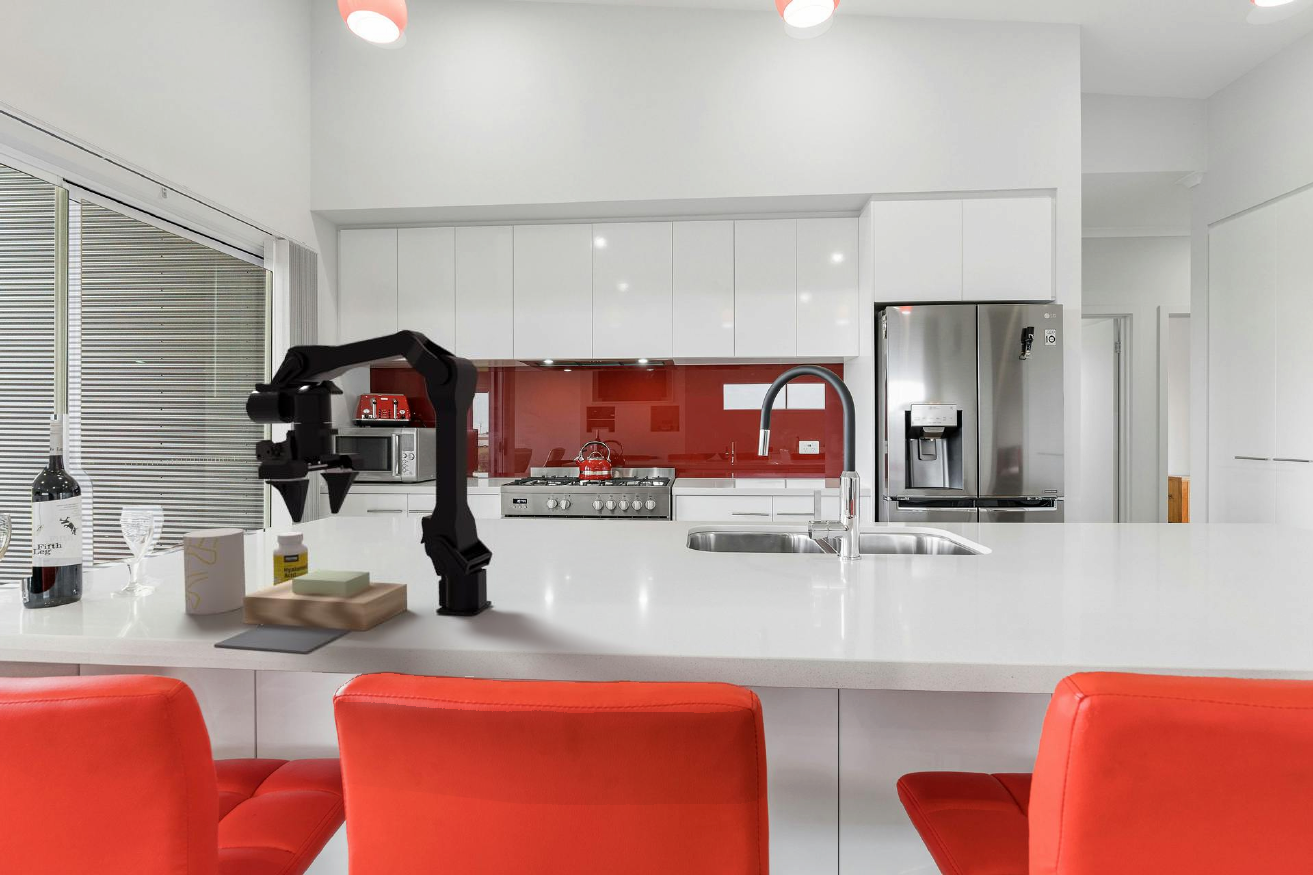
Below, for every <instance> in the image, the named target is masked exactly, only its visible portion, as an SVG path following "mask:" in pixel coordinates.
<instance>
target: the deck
mask: <svg viewBox="0 0 1313 875" xmlns="http://www.w3.org/2000/svg"><path fill="white" fill-rule="evenodd" d="M242 607H243V608H242V612H243V623H244V624H252V625H253V624H254V625H255V624H256V625H263V624H278V625H292V626H307V627H322V628H337V629H350V631H354V630H355V632H357V631H358V632H367V631H368V630H370V629H372V628H374V627H376V626H378V625H379V623H380V624H381V622H382V623H383V621H384V622H385V621H388V620H389V619H392V618H393V617H395V616H397V615H399V614H401V613H402V612H405V611H407V610H408V583H394V582H393V583H392V582H376V581H375V582H373V581H372V582H371V581H370V585H368V586H366V587H363V588H361V589H359V590H356V591H354V592H351V593H349V594H347V595H337V594H320V593H302V592H292V580H289V581H286V582H283V583H280V584H277V585H275V586H274V585H271V586H269V587H266V588H263V589H259V590H257V591H254V592H251V593H248V594H245V596H243V606H242ZM404 610H405V611H404ZM377 624H378V625H377Z"/></svg>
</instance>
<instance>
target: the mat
mask: <svg viewBox="0 0 1313 875" xmlns="http://www.w3.org/2000/svg"><path fill="white" fill-rule="evenodd" d="M350 632H351V630H350V629H337V628H322V627H307V626H292V625H278V624H259V626H255V627H254V628H251V629H248V630H246V631H243V632H241V633H238V634H236V635H234V636H231V637H229V638H226V639H223V640H221V641H219V642H217V643H214V644H213V647H215V648H216V647H217V648H230V649H241V650H242V649H243V650H253V651H254V650H255V651H257V650H258V651H268V652H283V653H292V654H293V653H294V654H295V653H296V654H309V653H311V652H312V651H314V650H317V649H318V648H320V647H322V646H324V645H327V644H328V643H330V642H332V641H335V640H336V639H339V638H340V637H342V636H344V635H346V634H348V633H350Z"/></svg>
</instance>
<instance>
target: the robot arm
mask: <svg viewBox="0 0 1313 875" xmlns="http://www.w3.org/2000/svg"><path fill="white" fill-rule="evenodd" d="M401 359H404V360H406V362H407V363H408V364H409V365H410V367H411V368H412V369H413V370H415V371H416V372H417V373H418V374H419V375H421V376H422V377H423V381H424V385H425V386H424V387H425V392H426V396H427V399H428V400H429V403H430V405H431V407H432V409H433V411H434V414H435V505H434V508H433V511H432V513H431V514H430V515H426V516H422V517H421V523H420V524H421V529H422V534H421V535H422V536H421V539H420V544H421V545H422V544H423V547H424V552H425V555H426V556H427V557H429V558H430V560H431V563H432V565H433V568H434V570H435V574H436V576H437V577H440V579H439V580H438V584H437V585H438V606H439V608H437V609H436V614H441V615H442V614H443V615H444V614H445V615H460V616H461V615H463V616H476V615H477V614H479V613H480V612H482V611H483V610H485V609H486V608H488V607H489V606H491V605H492V601H491V600H488V591H487V590H488V582H487V577H488V576H487V568H484V567H487V566H489V565H490V563H491V560H492V557H493V552H492V551H491V549H489V548H488V547H487V546H486V544H485V543H484V542H483V541H482V540H481V539H480V538H479V536H478V535H479V534H478V530H477V529H478V528H477V523H476V519H475V517H474V514H473V513H472V510H471V507H470V506H469V504H468V503H469V502H468V413H469V411H470V408H471V406H472V403H473V402H474V399H475V397H476V393H477V392H476V390H477V384H478V379H479V378H478V377H479V373H478V369H477V366H476V365H475V364H474V363H473V362H472V361H471V360H469V359H467V358H466V357H460V356H457V355H455V354H454V353H453V352H451V351H450V350H447V349H446V348H444V347H442V346H441V345H439V344H437V343H436V342H434V341H433V340H431V339H430V338H429V337H428V336H426V335H425V333H423V332H420V331H415V330H409V329H401V330H398V331H396V332H394V333H389V334H384V335H380V336H374V337H370V338H364V339H360V340H356V341H351V342H347V343H342V344H337V345H335V344H334V345H326V344H323V345H322V344H297V345H296V344H295V345H293V346H290V347H289V348H288V349H287V350H286V353H285V355H284V359H283V361H282V362H281V364H280V366H279V368H278V369H277V371H276V372H275V374H274V375H273V378H272V379H271V381H270V383H266V382H256V383H255V384H254V386H255V390H254V391H252V392H251V393H250V394H249V395H248V398H247V400H246V401H247V402H246V403H245V410H246V414H247V417H248V419H250V421H251V422H253V423H255V424H258V425H266V424H267V425H272V424H275V425H276V424H277V425H278V424H280V425H282V424H293V425H292V426H293V428H292V429H287V432H286V433H285V437H286V438H285V440H282V441H278V442H277V441H276V442H274V441H273V440H272V439H262V440H259V441H258V442H255V456H256V457H255V458H256V460H257V461H258V462H260V463H259V465H258V466H257V476H258V477H257V478H258V480H264V483H265V484H266V485H271V486H272V487H273V488H275V489H276V490H277V492H279V494H280V496H281V498H282V499H283V502H284V504H285V506H286V509H287V510H288V513H289V516H290V518H291V520H292V522H293V524H294V523H295V524H296V523H297V524H298V523H301V522H302V518H303V516H304V510H305V508H306V507H305V506H306V501H307V495H308V490H309V485H310V479H309V478H306V477H307V475H308V474H309V473H311V472H317V471H325V472H320V473H319V474H320V476H321V477H322V478H323V479H324V481H325V482H326V486H327V492H328V503H329V508H330V513H331V514H333V515H337V514H339V513H340V510H341V508H342V506H343V504H344V502H345V499H346V497H347V495H348V493H349V492H350V491H349V490H350V488H351V487H352V485H353V483H354V482H355V480H356V478H357V476H359V475H360V473H361V472H360V471H358V470H364V469H365V458H364V457H363V456H362V455H361V454H360V453H357V452H353V453H352V452H350V453H345V452H344V453H338V452H334V439H333V438H334V436H339V428H333V413H332V410H333V409H332V396H342V395H343V394H344V390H342V389H341V388H340V387H339V386H338V385H336V384H335V382H334V381H333V380H335V379H336V378H339V377H341V376H343V375H344V374H346V373H347V372H348V371H350V370H353V369H358V368H362V367H366V366H368V367H369V366H372V365H376V364H377V365H378V364H383V363H387V362H392V361H397V360H401Z"/></svg>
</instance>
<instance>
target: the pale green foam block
mask: <svg viewBox="0 0 1313 875" xmlns="http://www.w3.org/2000/svg"><path fill="white" fill-rule="evenodd" d="M370 574H371V573H370V572H369V571H353V570H334V569H317V570H313V571H311V572H308V574H305V575H302V576H299V577H296V578H293V579H292V592H302V593H320V594H337V595H347V594H349V593H351V592H354V591H356V590H359V589H361V588H363V587H366V586H368V585H370V582H371V581H370V580H371V577H370V576H371V575H370Z"/></svg>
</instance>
